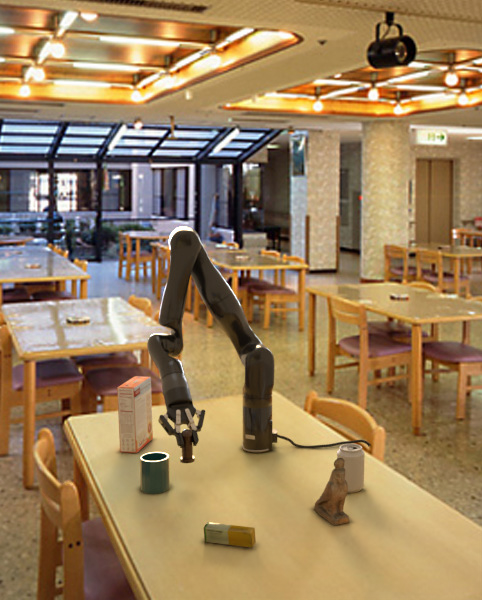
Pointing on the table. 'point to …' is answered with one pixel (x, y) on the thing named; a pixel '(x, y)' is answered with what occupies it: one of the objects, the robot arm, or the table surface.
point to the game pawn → (187, 447)
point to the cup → (154, 472)
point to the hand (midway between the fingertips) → (189, 445)
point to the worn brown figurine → (334, 496)
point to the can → (353, 466)
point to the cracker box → (135, 414)
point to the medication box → (229, 534)
